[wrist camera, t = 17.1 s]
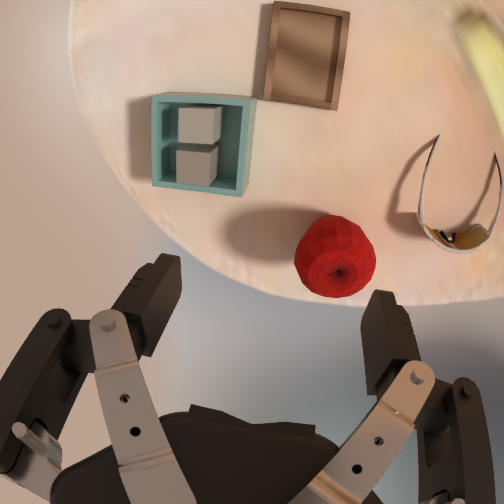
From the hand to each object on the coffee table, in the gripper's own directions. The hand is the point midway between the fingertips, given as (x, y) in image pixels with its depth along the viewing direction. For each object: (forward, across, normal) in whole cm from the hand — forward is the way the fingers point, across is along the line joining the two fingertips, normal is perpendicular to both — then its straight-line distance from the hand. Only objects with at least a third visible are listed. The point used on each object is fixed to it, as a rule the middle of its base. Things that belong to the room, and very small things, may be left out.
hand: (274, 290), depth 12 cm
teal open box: (+28, +11, +1) cm, 30 cm away
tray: (+28, 0, -11) cm, 30 cm away
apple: (+28, -7, +12) cm, 32 cm away
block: (+28, +11, +4) cm, 30 cm away
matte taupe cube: (+28, +11, -2) cm, 30 cm away
